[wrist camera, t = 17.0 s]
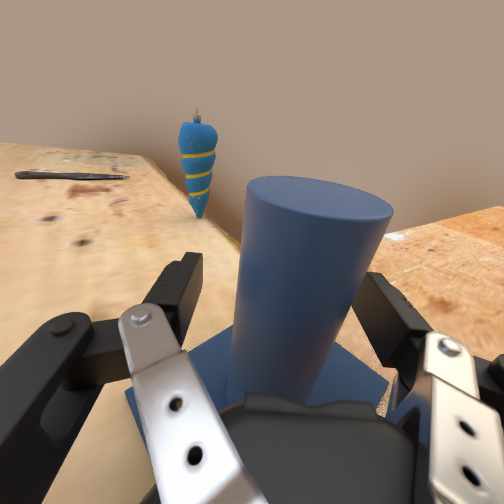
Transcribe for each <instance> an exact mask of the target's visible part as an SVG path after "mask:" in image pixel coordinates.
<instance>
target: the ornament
mask: <svg viewBox="0 0 504 504" xmlns="http://www.w3.org/2000/svg"><path fill="white" fill-rule="evenodd" d="M197 111H198V110H197ZM200 117H201V116H200V115H198V113H197V114H196V115H195V114H193V120H194V123H189V122H185V123H183V125H182V127H181V130H180V133H179V139H178V143H179V149H180V151H181V154H182V156H183V157H182V161H181V163H182V167H183V170H184V172H185V174H186V186H187V189H188V192H189V202H190V204H191V206H192V208H193V210H194V212H195V214H196V216H197V218H201V217H202V216H203V212H204V209H205V207H206V204H207V201H208V198H209V185H210V182H211V179H212V170H211V169H212V166H213V164H214V161H215V156H216V155H215V150H214V149H215V146H216V144H217V140H218V136H217V133H216V131H215V129H214V128H213V127H212V126H210V125H205V124H201V123H200V121H201V118H200Z"/></svg>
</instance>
